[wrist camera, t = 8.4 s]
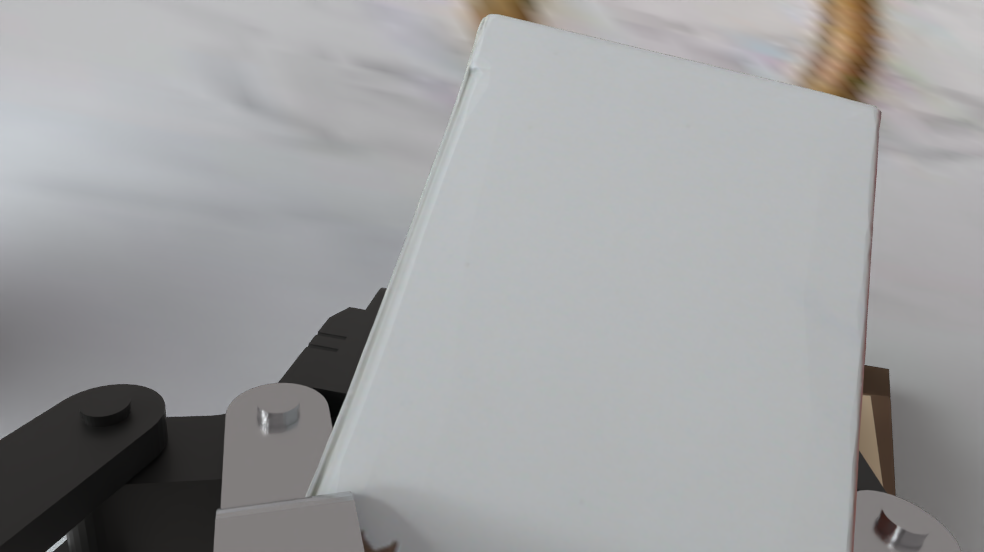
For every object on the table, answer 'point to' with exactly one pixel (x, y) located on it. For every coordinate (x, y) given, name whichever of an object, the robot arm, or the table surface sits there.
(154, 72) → the table surface
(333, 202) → the table surface
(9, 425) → the table surface
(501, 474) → the small box
